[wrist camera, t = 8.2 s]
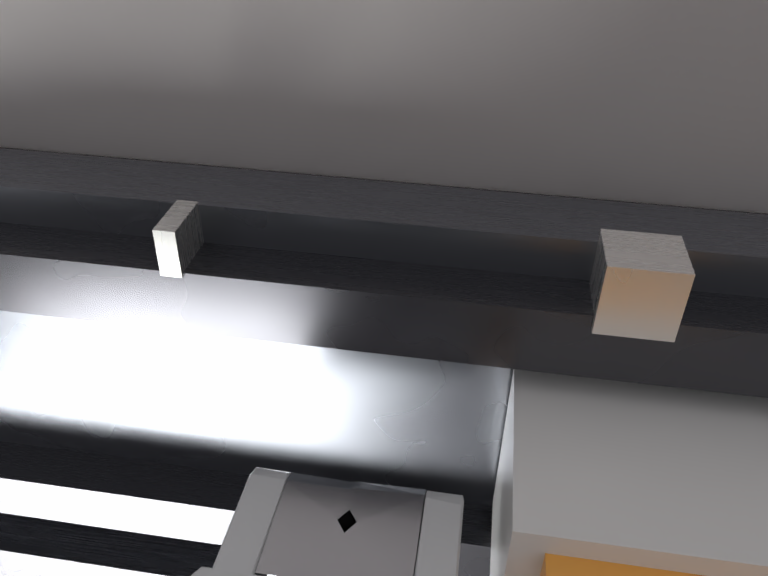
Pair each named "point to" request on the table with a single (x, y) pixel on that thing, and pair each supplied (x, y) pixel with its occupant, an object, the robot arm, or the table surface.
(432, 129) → the table surface
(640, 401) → the fader
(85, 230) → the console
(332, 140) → the table surface
